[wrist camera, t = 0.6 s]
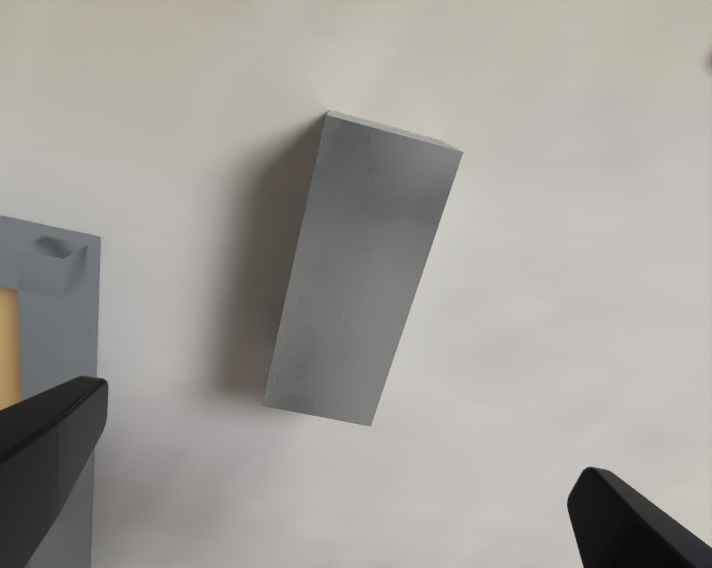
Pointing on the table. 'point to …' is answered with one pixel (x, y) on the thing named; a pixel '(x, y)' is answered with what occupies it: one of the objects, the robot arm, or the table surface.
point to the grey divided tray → (50, 349)
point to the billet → (357, 265)
